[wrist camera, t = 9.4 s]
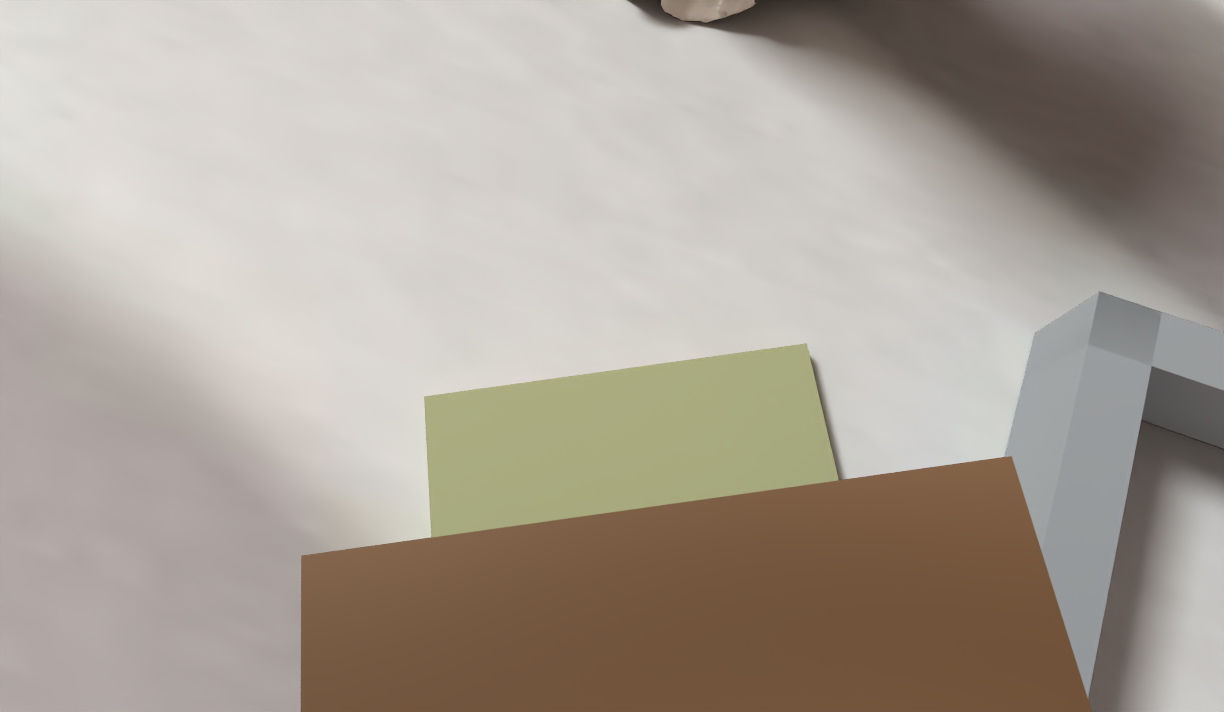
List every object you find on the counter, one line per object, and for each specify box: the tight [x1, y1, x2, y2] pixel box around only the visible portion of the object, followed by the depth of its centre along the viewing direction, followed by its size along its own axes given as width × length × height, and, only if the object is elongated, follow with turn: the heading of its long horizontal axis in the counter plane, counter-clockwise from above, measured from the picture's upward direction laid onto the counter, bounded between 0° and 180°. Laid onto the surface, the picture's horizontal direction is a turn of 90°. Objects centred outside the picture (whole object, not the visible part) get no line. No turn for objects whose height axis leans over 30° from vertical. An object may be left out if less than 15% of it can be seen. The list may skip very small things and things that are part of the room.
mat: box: [424, 344, 839, 538], centre depth 19 cm, size 11×11×1 cm
